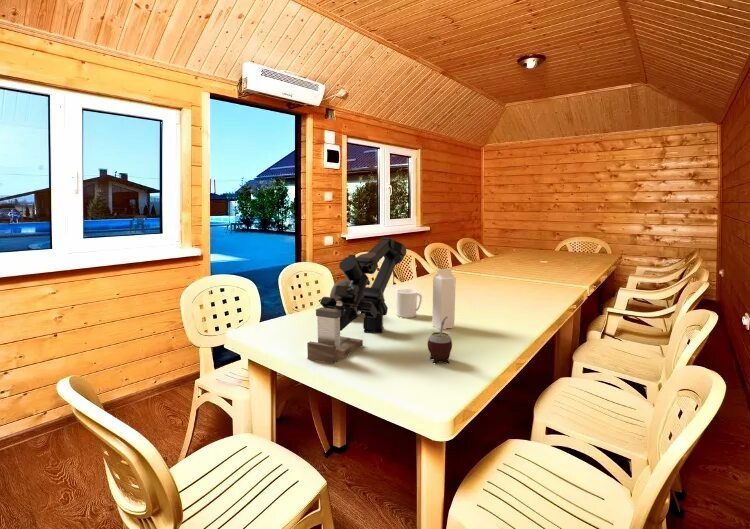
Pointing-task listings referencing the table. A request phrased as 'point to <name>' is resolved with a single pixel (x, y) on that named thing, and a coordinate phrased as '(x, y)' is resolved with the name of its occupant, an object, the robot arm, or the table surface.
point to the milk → (443, 298)
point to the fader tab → (329, 326)
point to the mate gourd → (440, 345)
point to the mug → (407, 303)
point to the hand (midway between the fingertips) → (339, 330)
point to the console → (332, 350)
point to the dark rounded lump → (341, 282)
